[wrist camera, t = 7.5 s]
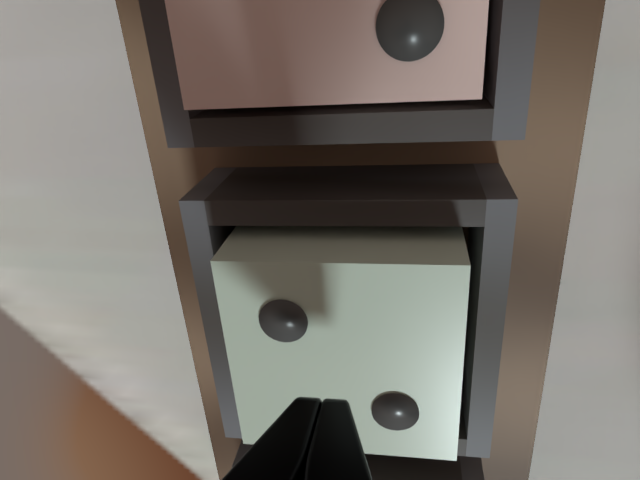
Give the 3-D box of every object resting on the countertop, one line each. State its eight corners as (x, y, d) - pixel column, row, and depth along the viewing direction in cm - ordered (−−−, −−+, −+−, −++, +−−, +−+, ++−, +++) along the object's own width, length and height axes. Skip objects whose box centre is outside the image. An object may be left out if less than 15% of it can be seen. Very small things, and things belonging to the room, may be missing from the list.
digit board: (499, 531, 18) (522, 666, 14) (252, 505, 19) (217, 622, 16) (619, -351, 8) (779, -612, 5) (112, -263, 10) (-59, -410, 6)
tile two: (449, 390, 12) (457, 463, 10) (266, 379, 12) (242, 445, 11) (459, 216, 10) (471, 266, 8) (243, 215, 11) (209, 262, 9)
